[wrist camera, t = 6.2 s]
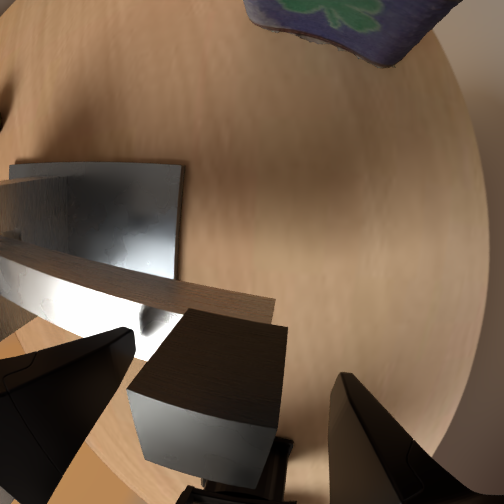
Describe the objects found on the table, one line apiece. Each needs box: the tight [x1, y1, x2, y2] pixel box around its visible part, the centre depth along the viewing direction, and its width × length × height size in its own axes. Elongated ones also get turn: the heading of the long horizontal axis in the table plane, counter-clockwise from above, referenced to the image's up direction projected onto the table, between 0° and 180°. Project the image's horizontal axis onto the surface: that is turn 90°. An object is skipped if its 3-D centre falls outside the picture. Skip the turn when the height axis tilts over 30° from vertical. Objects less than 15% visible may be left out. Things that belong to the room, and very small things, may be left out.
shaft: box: [0, 235, 288, 489], centre depth 9 cm, size 18×3×6 cm, turn 83°
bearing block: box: [0, 162, 185, 342], centre depth 13 cm, size 18×11×10 cm, turn 83°
